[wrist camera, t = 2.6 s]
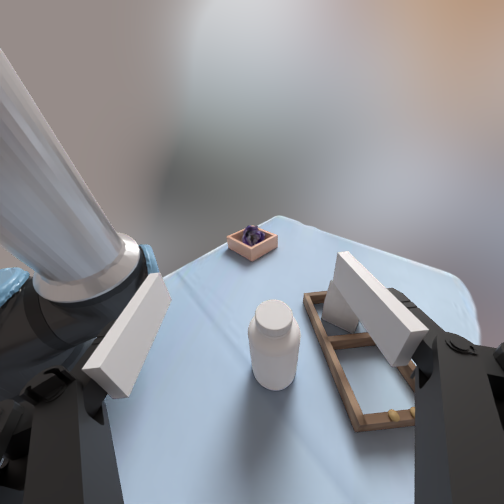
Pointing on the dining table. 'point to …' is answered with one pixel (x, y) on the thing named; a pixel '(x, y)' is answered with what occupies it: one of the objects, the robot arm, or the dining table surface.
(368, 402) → the dining table surface
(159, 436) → the dining table surface
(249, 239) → the flower
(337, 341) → the slot rack
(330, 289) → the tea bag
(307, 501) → the dining table surface
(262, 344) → the pill bottle
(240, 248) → the flower planter
